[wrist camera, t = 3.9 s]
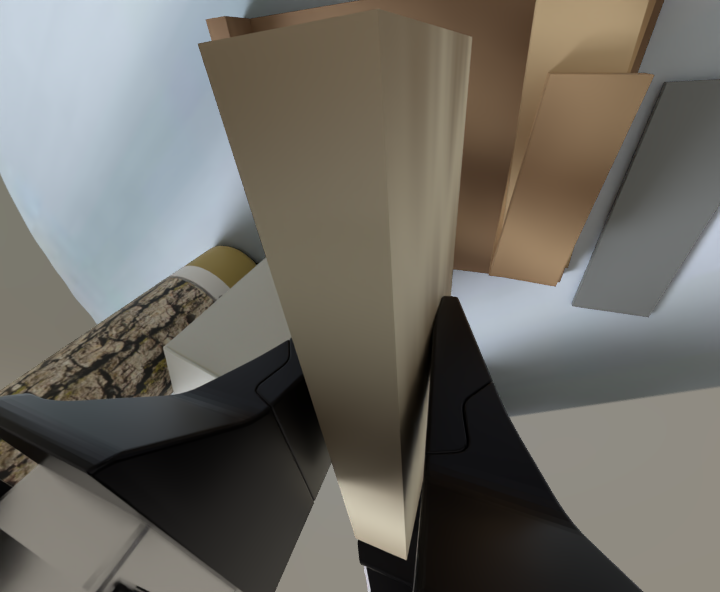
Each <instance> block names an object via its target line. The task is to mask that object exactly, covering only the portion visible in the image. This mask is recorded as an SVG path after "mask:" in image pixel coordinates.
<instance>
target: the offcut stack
mask: <svg viewBox="0 0 720 592" xmlns="http://www.w3.org/2000/svg"><path fill="white" fill-rule="evenodd" d="M655 3H656V0H536V2H535V9H534V16H533V22H532V29H531V36H530V43H529V49H528V56H527V63H526V70H525V77H524V83H523V90H522V97H521V104H520V110H519V117H518V124H517V131H516V137H515V142H514V147H513V152H512V157H511V162H510V167H509V172H508V177H507V182H506V187H505V192H504V197H503V202H502V207H501V212H500V217H499V222H498V227H497V232H496V237H495V242H494V247H493V252H492V257H491V262H490V267H489V275H490V276H498V277H505V278H511V279H516V280H522V281H527V282H533V283H539V284H544V285H550V286H556V284H557V282H558V280H559V278H560V276H561V274H562V272H563V269H564V268H568V266H569V262H570V259H571V256H572V252H573V249H574V246H575V244H576V242H577V239H578V237H579V235H580V233H581V231H582V229H583V227H584V225H585V222H586V220H587V218H588V216H589V214H590V212H591V210H592V207H593V205H594V203H595V201H596V199H597V197H598V195H599V192H600V190H601V188H602V186H603V184H604V182H605V180H606V178H607V175H608V173H609V171H610V169H611V167H612V165H613V163H614V160H615V158H616V156H617V154H618V152H619V150H620V148H621V145H622V143H623V141H624V139H625V137H626V135H627V133H628V130H629V128H630V126H631V124H632V122H633V120H634V118H635V116H636V113H637V111H638V109H639V107H640V105H641V103H642V101H643V98H644V96H645V94H646V92H647V90H648V88H649V86H650V83H651V81H652V79H653V77H654V75H653V74H648V73H630V72H631V69H632V67H633V64H634V61H635V58H636V56H637V53H638V50H639V47H640V44H641V42H642V39H643V36H644V33H645V31H646V28H647V25H648V22H649V19H650V17H651V14H652V11H653V8H654V6H655Z"/></svg>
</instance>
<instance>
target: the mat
mask: <svg viewBox="0 0 720 592" xmlns="http://www.w3.org/2000/svg"><path fill="white" fill-rule="evenodd" d="M719 205H720V79H715V80H697V81H679V82H664V85H663V87H662V90H661V92H660V94H659V97H658V99H657V101H656V104H655V106H654V109H653V111H652V113H651V116H650V118H649V120H648V123H647V125H646V128H645V130H644V132H643V135H642V137H641V140H640V142H639V144H638V147H637V149H636V151H635V154H634V156H633V159H632V161H631V163H630V166H629V168H628V171H627V173H626V175H625V178H624V180H623V182H622V185H621V187H620V190H619V192H618V194H617V197H616V199H615V202H614V204H613V206H612V209H611V211H610V213H609V216H608V218H607V221H606V223H605V225H604V228H603V230H602V232H601V235H600V237H599V240H598V242H597V244H596V247H595V249H594V252H593V254H592V256H591V259H590V261H589V263H588V266H587V268H586V271H585V273H584V275H583V278H582V280H581V283H580V285H579V287H578V290H577V292H576V294H575V297H574V299H573V302H572V306H574V307H581V308H588V309H595V310H602V311H609V312H616V313H623V314H630V315H637V316H644V317H649V316H650V314H651V313H652V311H653V309H654V308H655V306H656V305H657V303H658V301H659V300H660V298H661V297H662V295H663V294H664V292H665V290H666V289H667V287H668V286H669V284H670V282H671V281H672V279H673V278H674V276H675V275H676V273H677V271H678V270H679V268H680V267H681V265H682V263H683V262H684V260H685V259H686V257H687V255H688V254H689V252H690V251H691V249H692V248H693V246H694V244H695V243H696V241H697V240H698V238H699V236H700V235H701V233H702V232H703V230H704V229H705V227H706V225H707V224H708V222H709V221H710V219H711V217H712V216H713V214H714V213H715V211H716V210H717V208H718V206H719Z"/></svg>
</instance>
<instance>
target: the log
mask: <svg viewBox="0 0 720 592" xmlns="http://www.w3.org/2000/svg"><path fill="white" fill-rule="evenodd" d="M255 266H257V265H256V264H255V263H254V262H253V261H252V260H251V259H250V258H249V257H248V256H247V255H246V254H244V253H243V252H241V251H239V250H237V249H235V248H232V247H228V246H216V247H213V248H211V249H209V250H208V251H206V252H205V253H203V254H202V255H200V256H199V257H197V258H196V259H194V260H193V261H191V262H190V263H189V264H187V265H186V266H184V267H182V268H181V269H179V270H178V271H176V272H175V273H173V274H172V275H170V276H169V277H167V278H166V279H164V280H163V281H161V282H160V283H158V284H157V285H155V286H154V287H152V288H151V289H149V290H148V291H147V292H145V293H144V294H142V295H141V296H139V297H138V298H136V299H135V300H133V301H132V302H130V303H129V304H127V305H126V306H124V307H123V308H121V309H120V310H118V311H117V312H115V313H114V314H112V315H111V316H110V317H108V318H107V319H105V320H104V321H102V322H101V323H99V324H98V325H96V326H95V327H93V328H92V329H90V330H89V331H87V332H86V333H85V334H83V335H81V336H80V337H79V338H77V339H76V340H74V341H73V342H71V343H70V344H68V345H67V346H65V347H64V348H62V349H61V350H59V351H58V352H56V353H55V354H53V355H52V356H50V357H49V358H47V359H46V360H44V361H43V362H42V363H40V364H39V365H37V366H36V367H34V368H33V369H31V370H30V371H28V372H27V373H25V374H24V375H22V376H21V377H19V378H18V379H16V380H15V381H13V382H12V383H11V384H9V385H7V386H6V387H4V388H3V389H2V390H0V396H5V395H14V394H24V393H29V394H33V395H35V396H38V397H40V398H43V399H47V400H56V401H77V400H97V399H114V398H132V397H149V396H166V395H171V394H172V393H173V388H172V383H171V379H170V374H169V370H168V366H167V362H166V357H165V354H164V350H163V347H164V346H165V345H166V344H168V343H169V342H170V341H171V340H172V339H173V338H174V337H176V336H177V335H178V334H179V333H180V332H181V331H183V330H184V329H185V328H186V327H187V326H188V325H189V324H191V323H192V322H193V321H194V320H195V319H196V318H197V317H199V316H200V315H201V314H202V313H203V312H204V311H205V310H207V309H208V308H209V307H210V306H211V305H212V304H213V303H215V302H216V301H217V300H218V299H219V298H220V297H221V296H223V295H224V294H225V293H226V292H227V291H228V290H229V289H230V288H232V287H233V286H234V285H235V284H236V283H237V282H238V281H240V280H241V279H242V278H243V277H244V276H245V275H246V274H248V273H249V272H250V271H251V270H252V269H253V268H254V267H255ZM37 465H38V464H37V463H36V462H34V461H33V460H31V459H30V458H28V457H27V456H26V455H24V454H23V453H21V452H20V451H18V450H17V449H15V448H14V447H12V446H11V445H10V444H8V443H7V442H5V441H4V440H2V439H1V438H0V480H2V481H4V482H6V483H7V484H9V485H11V486H12V487H13V486H14V485H16V484H17V483H18V482H19V481H20V480H21V479H22V478H24V477H25V476H26V475H27V474H28V473H29V472H30V471H32V470H33V469H34V468H35V467H36V466H37Z"/></svg>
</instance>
